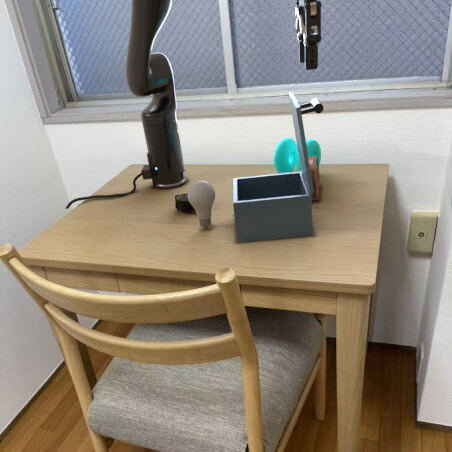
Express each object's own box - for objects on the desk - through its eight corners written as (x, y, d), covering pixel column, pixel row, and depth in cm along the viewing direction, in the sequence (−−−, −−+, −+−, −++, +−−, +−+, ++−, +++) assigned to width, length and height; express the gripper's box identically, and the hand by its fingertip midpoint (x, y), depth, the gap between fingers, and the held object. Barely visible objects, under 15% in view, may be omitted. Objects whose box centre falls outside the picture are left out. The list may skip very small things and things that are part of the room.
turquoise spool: (290, 168, 136) (289, 132, 130) (322, 171, 131) (322, 134, 125) (272, 180, 130) (270, 143, 124) (305, 184, 124) (305, 146, 119)
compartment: (237, 242, 101) (233, 203, 96) (237, 214, 113) (233, 178, 108) (312, 235, 99) (312, 195, 95) (303, 208, 112) (303, 171, 107)
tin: (317, 206, 112) (317, 171, 107) (304, 206, 113) (303, 171, 108) (320, 182, 124) (320, 150, 119) (307, 183, 125) (307, 151, 120)
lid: (296, 108, 85) (325, 100, 85) (288, 92, 98) (314, 85, 97) (309, 193, 94) (337, 187, 94) (301, 169, 107) (325, 163, 106)
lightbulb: (223, 222, 110) (217, 176, 104) (214, 234, 105) (207, 186, 99) (198, 221, 112) (191, 176, 106) (188, 233, 107) (180, 186, 101)
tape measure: (203, 203, 121) (201, 189, 119) (204, 213, 115) (202, 199, 113) (176, 207, 121) (174, 192, 119) (176, 217, 115) (173, 203, 113)
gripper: (281, -37, 86) (284, 62, 95) (289, -39, 74) (292, 74, 83) (323, -42, 85) (322, 58, 94) (338, -46, 74) (335, 69, 83)
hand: (308, 65), depth 89 cm, fingers open, 8 cm apart
